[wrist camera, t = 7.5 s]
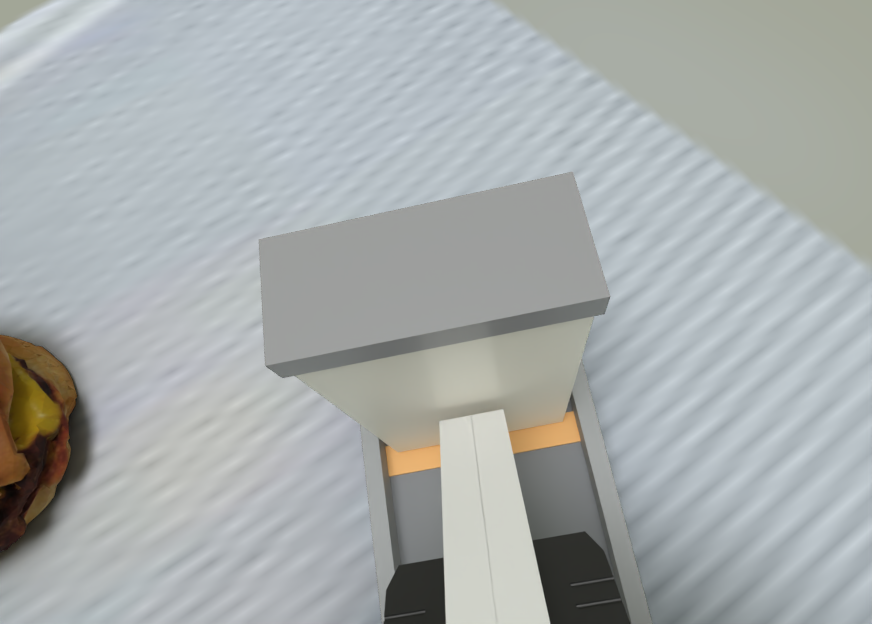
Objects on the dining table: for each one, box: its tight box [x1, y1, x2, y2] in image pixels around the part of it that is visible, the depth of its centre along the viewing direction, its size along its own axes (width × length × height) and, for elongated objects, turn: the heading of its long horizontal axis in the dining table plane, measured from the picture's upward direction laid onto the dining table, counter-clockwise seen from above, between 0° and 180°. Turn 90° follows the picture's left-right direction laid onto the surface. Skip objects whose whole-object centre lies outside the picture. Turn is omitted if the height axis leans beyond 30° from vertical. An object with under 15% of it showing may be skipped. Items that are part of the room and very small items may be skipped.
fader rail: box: [360, 359, 653, 624], centre depth 15 cm, size 18×7×4 cm, turn 9°
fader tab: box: [259, 172, 610, 452], centre depth 14 cm, size 2×5×10 cm, turn 99°
